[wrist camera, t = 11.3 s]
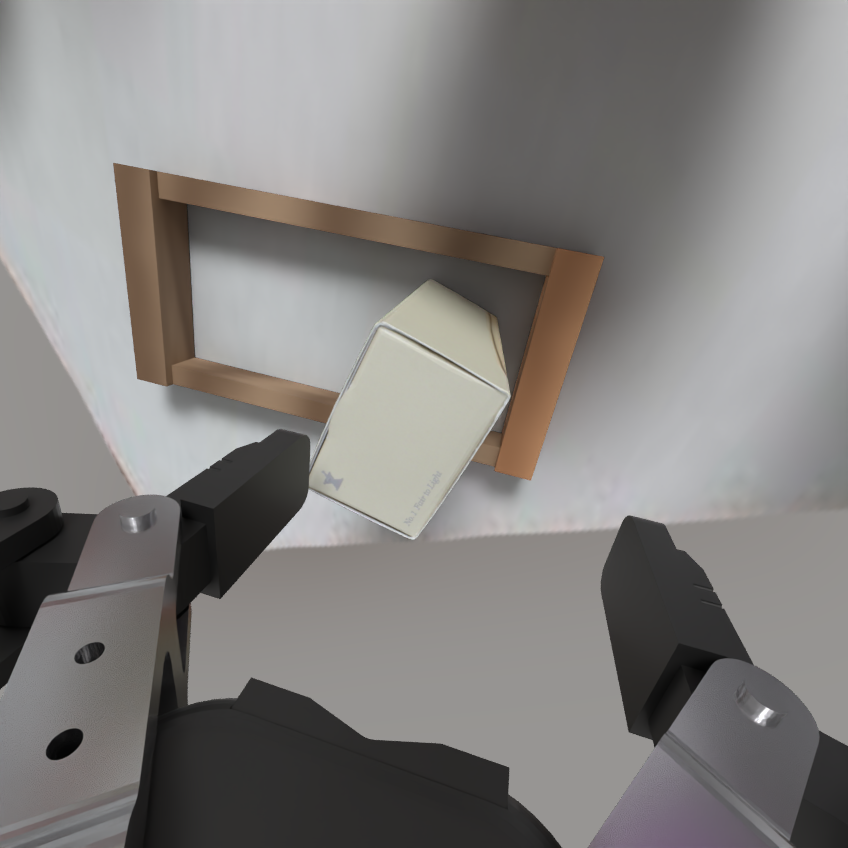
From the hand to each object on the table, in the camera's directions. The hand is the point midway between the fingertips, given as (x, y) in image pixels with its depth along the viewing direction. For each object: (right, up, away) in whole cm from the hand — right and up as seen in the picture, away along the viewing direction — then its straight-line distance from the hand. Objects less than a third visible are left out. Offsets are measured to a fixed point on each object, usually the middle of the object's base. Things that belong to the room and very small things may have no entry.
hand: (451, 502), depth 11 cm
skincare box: (0, +6, +13) cm, 14 cm away
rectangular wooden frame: (-5, +8, +13) cm, 16 cm away
